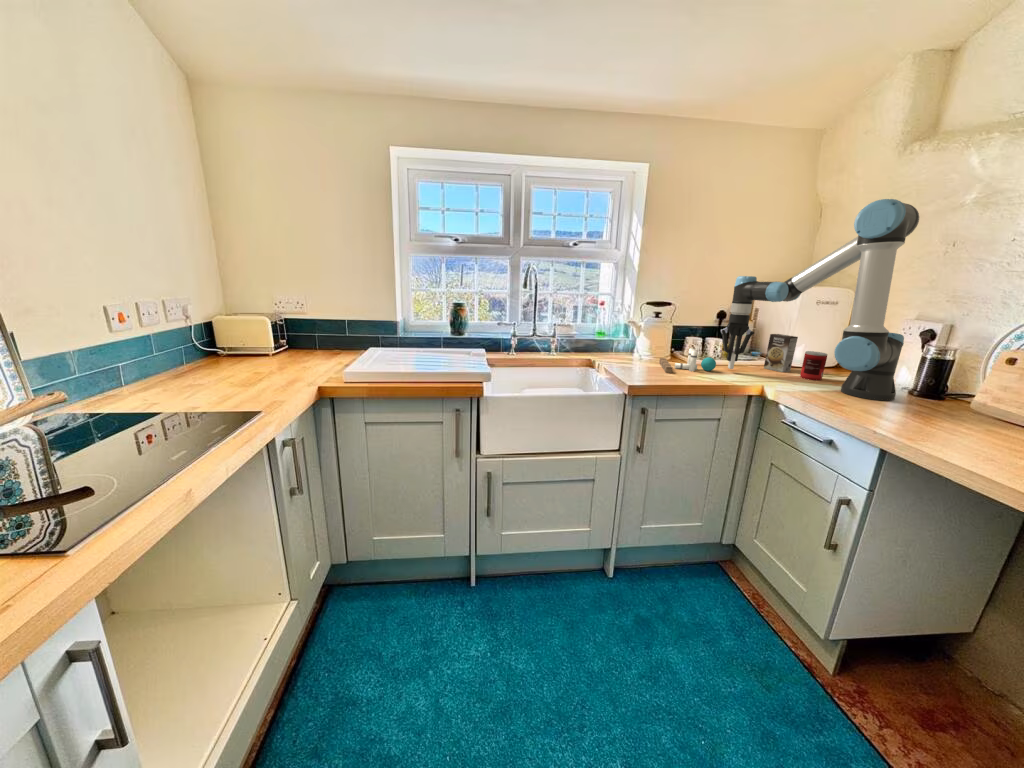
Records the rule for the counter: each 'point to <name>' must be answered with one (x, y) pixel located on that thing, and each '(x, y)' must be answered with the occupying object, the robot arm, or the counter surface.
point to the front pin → (683, 366)
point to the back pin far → (689, 355)
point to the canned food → (813, 365)
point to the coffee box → (780, 352)
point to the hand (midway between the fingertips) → (730, 368)
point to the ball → (708, 364)
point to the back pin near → (693, 360)
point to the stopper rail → (665, 365)
